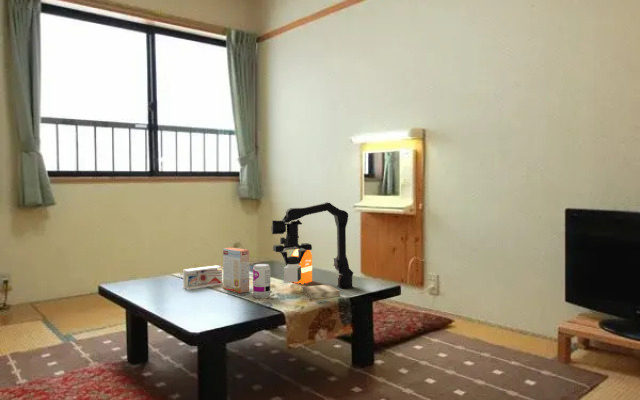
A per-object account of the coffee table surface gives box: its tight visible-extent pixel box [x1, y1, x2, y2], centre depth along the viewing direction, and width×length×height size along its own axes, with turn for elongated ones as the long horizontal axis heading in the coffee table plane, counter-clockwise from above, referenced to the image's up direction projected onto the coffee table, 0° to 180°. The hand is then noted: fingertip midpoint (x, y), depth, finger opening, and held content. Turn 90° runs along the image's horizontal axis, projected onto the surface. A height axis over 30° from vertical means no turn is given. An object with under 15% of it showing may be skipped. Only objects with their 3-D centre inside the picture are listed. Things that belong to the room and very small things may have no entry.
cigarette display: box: [182, 264, 223, 290], centre depth 256 cm, size 20×6×9 cm, turn 129°
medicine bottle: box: [283, 256, 301, 283], centre depth 246 cm, size 7×7×12 cm
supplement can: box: [252, 263, 271, 299], centre depth 234 cm, size 8×8×15 cm
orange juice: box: [291, 249, 313, 285], centre depth 266 cm, size 8×9×20 cm
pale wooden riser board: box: [301, 284, 341, 299], centre depth 239 cm, size 14×14×2 cm
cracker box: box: [222, 246, 250, 294], centre depth 245 cm, size 14×6×21 cm, turn 47°
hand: (292, 264), depth 246 cm, fingers closed on medicine bottle, 6 cm apart
